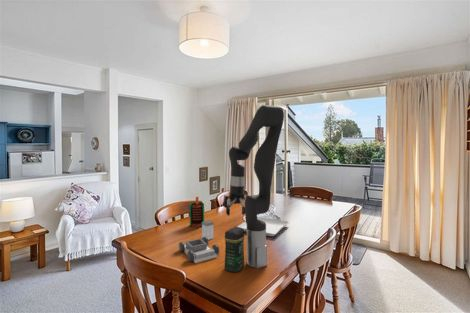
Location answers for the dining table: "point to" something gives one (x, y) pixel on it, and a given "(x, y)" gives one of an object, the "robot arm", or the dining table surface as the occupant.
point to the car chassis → (199, 250)
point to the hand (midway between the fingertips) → (235, 214)
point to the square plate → (269, 225)
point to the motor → (196, 213)
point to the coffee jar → (234, 249)
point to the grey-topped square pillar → (207, 229)
